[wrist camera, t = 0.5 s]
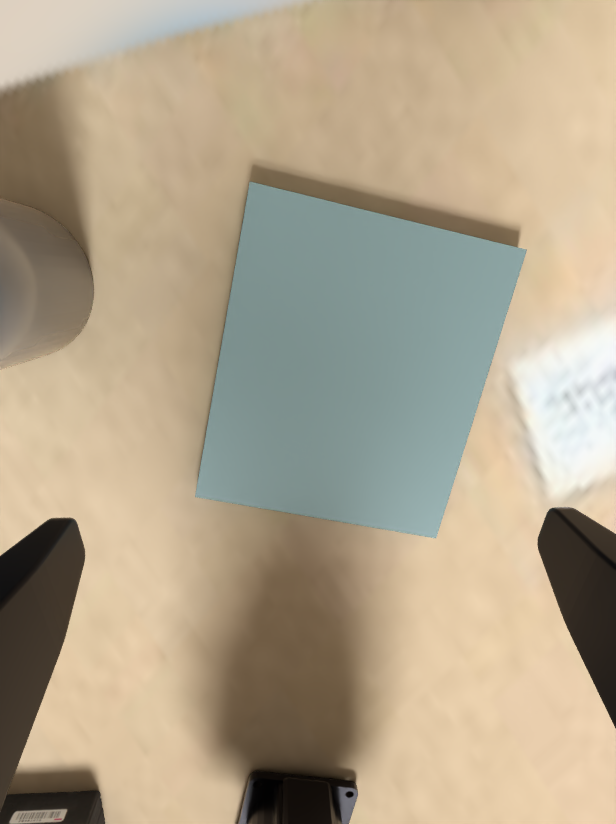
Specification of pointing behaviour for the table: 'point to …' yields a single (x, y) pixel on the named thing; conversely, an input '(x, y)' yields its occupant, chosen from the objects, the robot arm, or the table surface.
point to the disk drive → (53, 808)
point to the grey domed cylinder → (39, 285)
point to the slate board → (351, 362)
